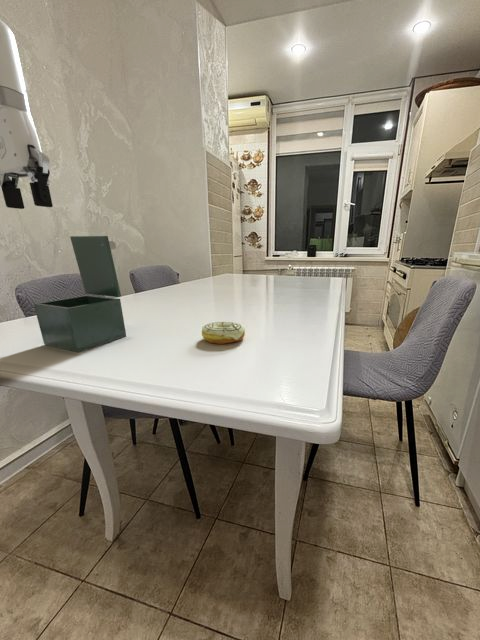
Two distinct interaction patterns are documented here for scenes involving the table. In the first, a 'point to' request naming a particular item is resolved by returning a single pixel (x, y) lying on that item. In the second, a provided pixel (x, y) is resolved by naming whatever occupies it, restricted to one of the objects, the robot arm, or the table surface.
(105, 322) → the bin
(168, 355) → the table surface
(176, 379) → the table surface
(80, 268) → the bin lid
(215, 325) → the decorated donut
